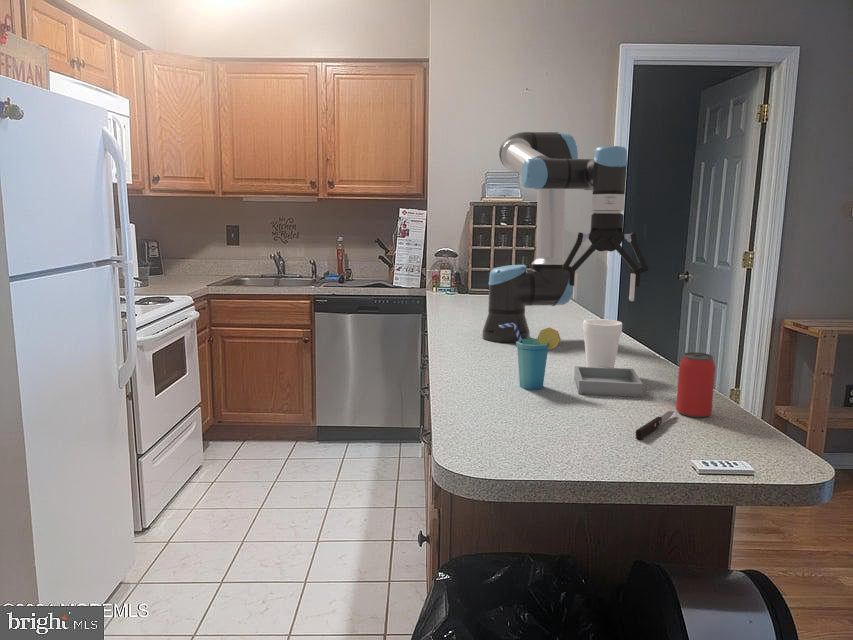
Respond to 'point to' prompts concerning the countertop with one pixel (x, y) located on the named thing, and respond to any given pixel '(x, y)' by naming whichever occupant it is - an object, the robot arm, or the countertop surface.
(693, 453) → the countertop surface
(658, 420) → the kitchen knife
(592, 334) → the foam cup
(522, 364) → the cup
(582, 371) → the tray
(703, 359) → the beer can
